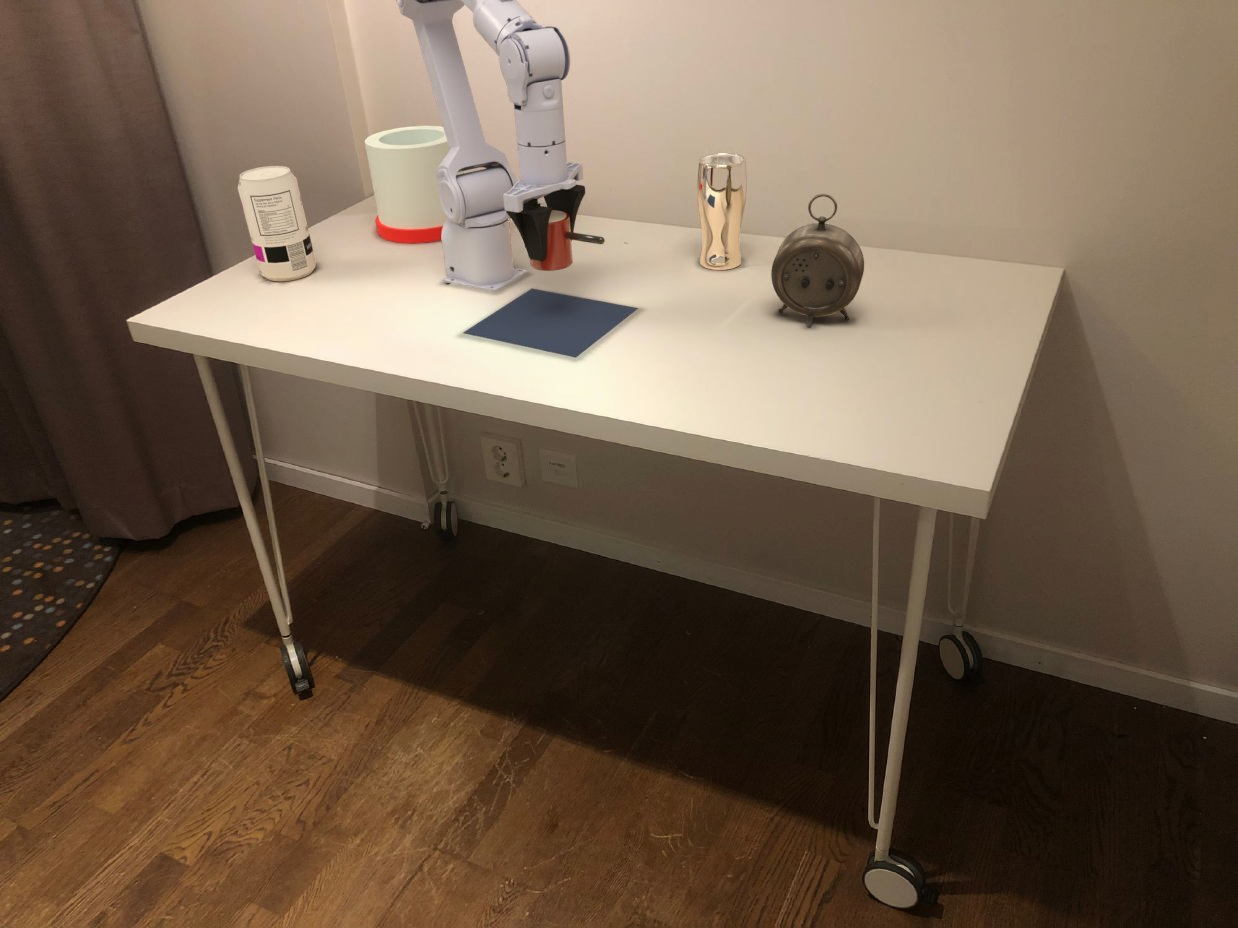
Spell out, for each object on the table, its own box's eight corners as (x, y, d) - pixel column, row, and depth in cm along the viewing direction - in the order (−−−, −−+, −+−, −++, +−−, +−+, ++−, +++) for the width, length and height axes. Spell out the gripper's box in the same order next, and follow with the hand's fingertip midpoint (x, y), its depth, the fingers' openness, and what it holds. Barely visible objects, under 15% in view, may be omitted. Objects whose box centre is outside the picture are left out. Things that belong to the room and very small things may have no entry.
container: (491, 216, 159) (481, 128, 151) (439, 247, 147) (425, 153, 139) (413, 208, 165) (399, 122, 157) (357, 237, 153) (339, 146, 145)
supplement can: (249, 280, 139) (222, 179, 131) (285, 260, 145) (261, 163, 137) (293, 285, 136) (268, 183, 128) (328, 265, 143) (306, 166, 134)
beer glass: (742, 272, 133) (745, 166, 125) (693, 270, 135) (693, 165, 127) (746, 255, 139) (749, 152, 131) (699, 253, 140) (700, 152, 132)
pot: (522, 267, 117) (517, 220, 114) (545, 253, 121) (541, 207, 118) (594, 280, 113) (591, 231, 110) (616, 265, 117) (614, 217, 113)
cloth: (462, 334, 119) (462, 332, 119) (531, 290, 131) (531, 288, 131) (575, 359, 112) (575, 357, 112) (638, 310, 124) (638, 308, 124)
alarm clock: (859, 316, 119) (872, 189, 110) (853, 334, 115) (867, 204, 106) (774, 308, 122) (780, 184, 114) (766, 325, 118) (772, 198, 109)
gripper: (535, 160, 103) (545, 276, 110) (601, 129, 113) (606, 237, 121) (483, 154, 106) (497, 267, 113) (552, 124, 117) (560, 230, 124)
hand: (550, 251), depth 117 cm, fingers closed on pot, 5 cm apart
